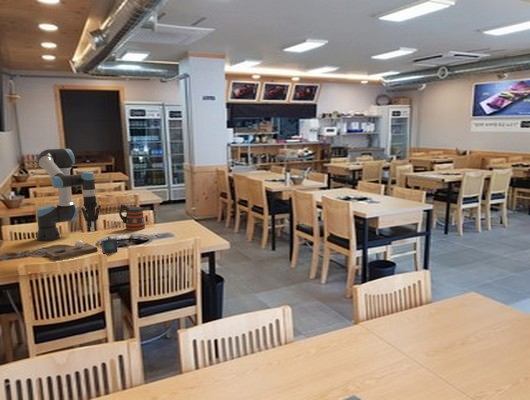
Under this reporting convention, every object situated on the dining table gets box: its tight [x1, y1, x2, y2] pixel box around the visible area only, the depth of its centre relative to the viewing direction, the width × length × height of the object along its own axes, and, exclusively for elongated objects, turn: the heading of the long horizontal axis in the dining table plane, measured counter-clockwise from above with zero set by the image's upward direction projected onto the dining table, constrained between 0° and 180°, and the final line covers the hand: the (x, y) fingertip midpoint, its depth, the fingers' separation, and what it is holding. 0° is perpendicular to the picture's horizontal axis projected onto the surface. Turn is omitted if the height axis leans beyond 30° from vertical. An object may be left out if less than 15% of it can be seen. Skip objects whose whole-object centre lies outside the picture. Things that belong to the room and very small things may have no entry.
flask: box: [100, 235, 118, 254], centre depth 261 cm, size 9×3×11 cm, turn 117°
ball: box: [74, 239, 85, 248], centre depth 264 cm, size 5×5×5 cm
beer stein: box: [118, 204, 146, 231], centre depth 325 cm, size 19×15×20 cm
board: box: [45, 242, 98, 261], centre depth 261 cm, size 16×26×2 cm, turn 136°
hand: (92, 231), depth 269 cm, fingers closed
